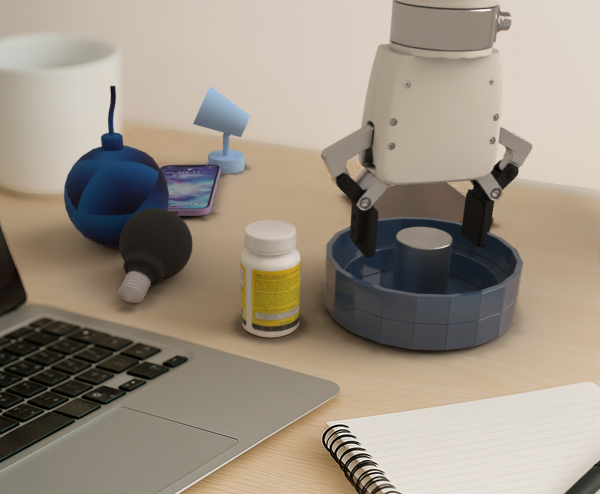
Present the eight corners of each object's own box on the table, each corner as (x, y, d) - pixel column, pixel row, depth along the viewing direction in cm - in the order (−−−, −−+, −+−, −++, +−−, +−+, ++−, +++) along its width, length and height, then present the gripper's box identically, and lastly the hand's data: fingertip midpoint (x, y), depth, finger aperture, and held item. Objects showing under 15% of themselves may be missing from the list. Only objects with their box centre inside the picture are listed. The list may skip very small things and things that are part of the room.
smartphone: (139, 210, 87) (160, 164, 100) (140, 218, 87) (161, 171, 101) (209, 209, 87) (221, 164, 100) (210, 217, 87) (222, 171, 101)
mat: (444, 187, 97) (445, 181, 97) (492, 225, 87) (493, 218, 87) (348, 195, 94) (348, 189, 94) (386, 236, 84) (387, 228, 84)
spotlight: (192, 173, 100) (249, 175, 100) (189, 90, 96) (248, 92, 96) (197, 160, 105) (251, 162, 105) (194, 81, 100) (251, 82, 100)
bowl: (461, 258, 80) (467, 210, 77) (550, 340, 66) (561, 283, 64) (302, 276, 75) (303, 225, 73) (361, 367, 62) (365, 308, 60)
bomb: (182, 222, 86) (174, 77, 80) (159, 266, 77) (148, 105, 70) (90, 219, 87) (74, 74, 80) (56, 262, 77) (35, 101, 70)
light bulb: (89, 265, 67) (134, 185, 73) (93, 313, 72) (135, 234, 78) (165, 286, 67) (203, 204, 73) (164, 333, 71) (200, 252, 78)
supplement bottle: (311, 325, 67) (314, 230, 63) (268, 345, 64) (268, 246, 61) (272, 305, 70) (272, 212, 66) (229, 323, 67) (226, 227, 64)
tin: (432, 287, 73) (438, 224, 70) (454, 311, 69) (462, 245, 66) (383, 293, 72) (387, 229, 69) (403, 317, 68) (409, 251, 65)
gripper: (522, 19, 66) (492, 221, 73) (313, 22, 61) (305, 236, 69) (575, 36, 59) (536, 255, 67) (346, 40, 55) (333, 274, 62)
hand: (419, 245), depth 68 cm, fingers open, 9 cm apart
